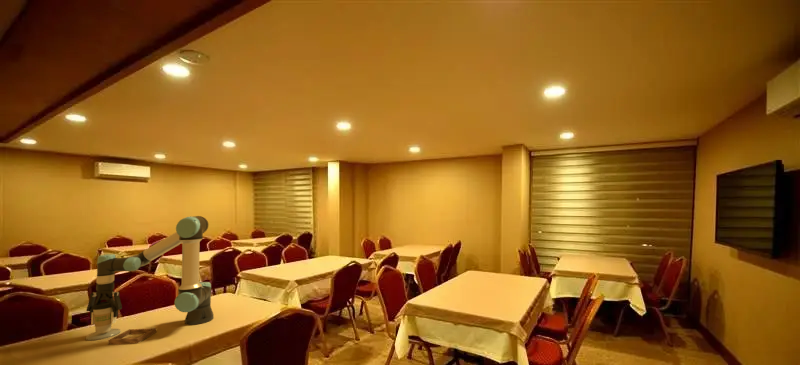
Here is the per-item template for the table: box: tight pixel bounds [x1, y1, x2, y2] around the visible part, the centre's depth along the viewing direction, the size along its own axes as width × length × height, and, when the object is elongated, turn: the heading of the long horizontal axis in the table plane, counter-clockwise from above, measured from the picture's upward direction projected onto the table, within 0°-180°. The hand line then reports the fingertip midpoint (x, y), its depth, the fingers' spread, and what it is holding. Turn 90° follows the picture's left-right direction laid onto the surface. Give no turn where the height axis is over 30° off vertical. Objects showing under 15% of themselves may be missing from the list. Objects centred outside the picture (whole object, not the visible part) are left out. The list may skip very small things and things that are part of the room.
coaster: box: [85, 328, 121, 342], centre depth 182 cm, size 14×14×1 cm
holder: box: [108, 327, 157, 345], centre depth 177 cm, size 14×14×2 cm
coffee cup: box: [92, 300, 113, 333], centre depth 182 cm, size 10×10×15 cm
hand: (103, 323), depth 182 cm, fingers closed on coffee cup, 10 cm apart
